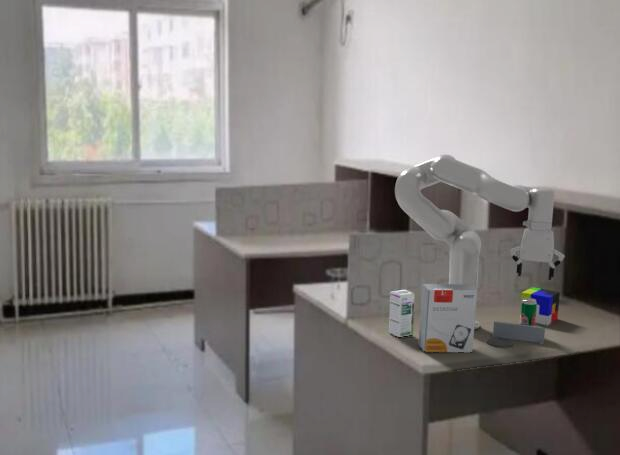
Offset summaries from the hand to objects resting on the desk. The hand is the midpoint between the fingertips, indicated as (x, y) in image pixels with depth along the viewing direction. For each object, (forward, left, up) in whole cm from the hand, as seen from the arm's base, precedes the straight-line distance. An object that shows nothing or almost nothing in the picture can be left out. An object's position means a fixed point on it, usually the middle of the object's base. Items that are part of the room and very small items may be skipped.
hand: (534, 277), depth 249 cm
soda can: (-1, -3, -19) cm, 19 cm away
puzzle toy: (+1, +18, -19) cm, 26 cm away
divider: (-3, -9, -19) cm, 21 cm away
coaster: (-8, -16, -19) cm, 26 cm away
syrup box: (-39, -21, -19) cm, 48 cm away
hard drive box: (-23, -29, -19) cm, 41 cm away
